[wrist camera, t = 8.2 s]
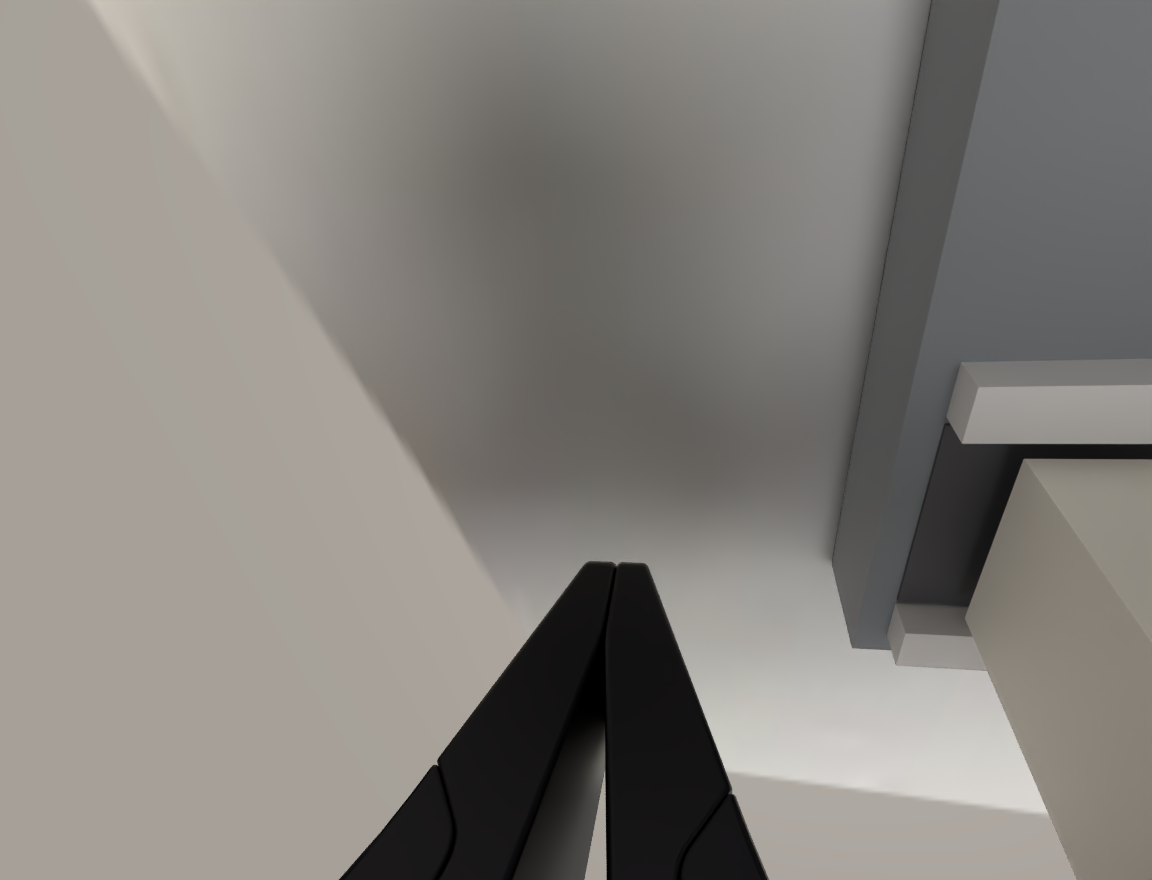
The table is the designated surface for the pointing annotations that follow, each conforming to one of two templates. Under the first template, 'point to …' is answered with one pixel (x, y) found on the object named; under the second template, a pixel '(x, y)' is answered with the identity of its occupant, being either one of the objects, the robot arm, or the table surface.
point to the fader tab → (1078, 651)
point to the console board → (1000, 304)
